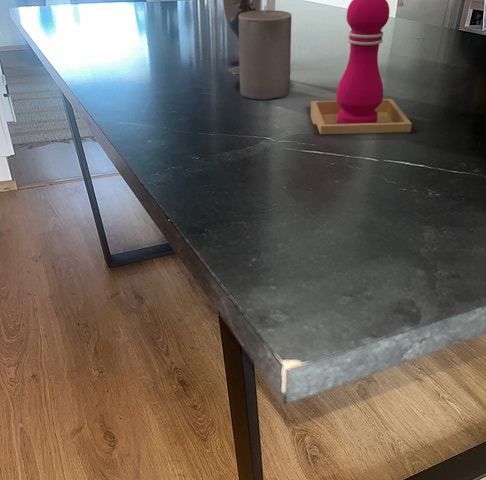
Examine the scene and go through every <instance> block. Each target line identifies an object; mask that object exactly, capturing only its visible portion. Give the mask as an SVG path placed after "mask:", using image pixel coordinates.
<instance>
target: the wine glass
mask: <svg viewBox="0 0 486 480" xmlns="http://www.w3.org/2000/svg"><path fill="white" fill-rule="evenodd" d="M222 9H223V15H224V18H225V19H224V20H225V22H226V25H227V26H228V27H229V29H230V30H231V32H233V34H234V36H235V37H236V38H237V40H238V41H239V20H238V16H239V14H241V13H244V12H250V11H261V10H262V0H222ZM227 72H228V73H230V74H233V75H240V68H239V65H237V66H236V65H235V66H232V67H229V68H228V69H227Z"/></svg>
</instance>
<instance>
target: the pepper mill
mask: <svg viewBox="0 0 486 480" xmlns="http://www.w3.org/2000/svg"><path fill="white" fill-rule="evenodd" d="M389 18H390V4H389V2H388V0H351V2H350V3H349V4H348V7H347V10H346V22H347V24H348V26H349V27H350V29H351V30H350V31H349V32H348V39H347V42H348V43H349V44H350V47H349V57H348V62H347V64H346V68H345V70H344V72H343V74H342V77H340V80H339V83H338V85H337V89H336V93H335V100H337V103H338V104H339V106H340V107H341V108H342V109H341V110H339V112H338V117H337V123H338V124H357V123H378V122H377V116H378V113H377V112H376V111H375V109H376V108H377V107H378V106H379V105H380V104H381V102H382V100H383V99H384V85H383V81H382V77H381V73H380V69H379V59H378V56H379V48H380V44H381V43H383V42H384V41H383V36H384V32H383V31H382V30H383V28H384V27H385V26H386V25H387V23H388V21H389Z"/></svg>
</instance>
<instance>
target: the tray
mask: <svg viewBox="0 0 486 480" xmlns="http://www.w3.org/2000/svg"><path fill="white" fill-rule="evenodd" d="M341 109H342V108H341V107H340V106H339V104H338V103H337V100H336V99H334V100H332V99H331V100H311V102H310V119H311V122H312V124H313V125H316V127H317V130H318V132H319V134H320V135H346V134H347V135H348V134H377V133H378V134H379V133H380V134H381V133H384V134H385V133H411V131H412V125H413V124H412V122H411V121H410V119H409V118H408V117H407V116H406V114H405V113H404V112H403V110H402V109H401V108H400V107H399V106H398V105H397V102H395V101H394V100H393V98H383V100H382V102H381V104H380V105H379V106H378V107H377V108H376V109H375V111H376V112H377V113H378V116H377V122H375V123H357V124H344V123H337V117H338V112H339V110H341Z"/></svg>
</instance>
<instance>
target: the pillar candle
mask: <svg viewBox="0 0 486 480" xmlns="http://www.w3.org/2000/svg"><path fill="white" fill-rule="evenodd" d="M238 20H239V40H238V59H239V61H238V62H239V64H238V66H239V68H240V74H239V94H240V95H241V96H242V97H245V98H248V99H253V100H263V101H264V100H273V99H277V98H284V97H286V96H288V95H289V93H290V86H291V55H292V51H291V47H292V13H291V12H289V11H283V10H274V9H273V10H272V9H271V10H270V9H267V6H266V5H265V6H264V9H263V10H262V9H261V10H260V11H250V12H244V13H241V14H239V16H238Z"/></svg>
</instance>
